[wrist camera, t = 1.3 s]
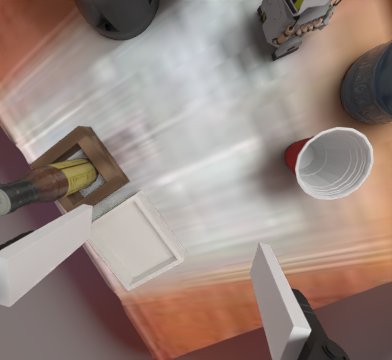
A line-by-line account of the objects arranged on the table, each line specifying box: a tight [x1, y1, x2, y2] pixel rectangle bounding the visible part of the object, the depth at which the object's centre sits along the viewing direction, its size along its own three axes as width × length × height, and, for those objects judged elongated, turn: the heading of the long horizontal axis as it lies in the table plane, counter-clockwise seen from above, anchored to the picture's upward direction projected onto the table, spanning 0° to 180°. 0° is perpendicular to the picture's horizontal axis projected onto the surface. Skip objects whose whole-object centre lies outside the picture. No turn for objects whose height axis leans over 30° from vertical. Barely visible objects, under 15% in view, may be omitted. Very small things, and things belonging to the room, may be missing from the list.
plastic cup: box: [285, 127, 374, 200], centre depth 34 cm, size 11×11×12 cm
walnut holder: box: [30, 126, 129, 212], centre depth 43 cm, size 14×14×4 cm
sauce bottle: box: [0, 158, 98, 216], centre depth 35 cm, size 6×6×20 cm
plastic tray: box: [87, 190, 186, 291], centre depth 45 cm, size 18×16×4 cm
